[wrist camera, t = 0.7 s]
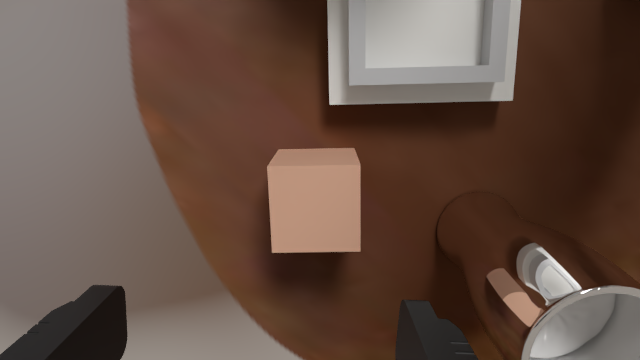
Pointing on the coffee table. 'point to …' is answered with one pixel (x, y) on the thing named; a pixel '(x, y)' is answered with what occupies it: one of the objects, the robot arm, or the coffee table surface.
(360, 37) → the grey stand
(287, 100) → the coffee table surface
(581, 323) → the beer glass
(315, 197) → the terracotta block
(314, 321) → the coffee table surface
